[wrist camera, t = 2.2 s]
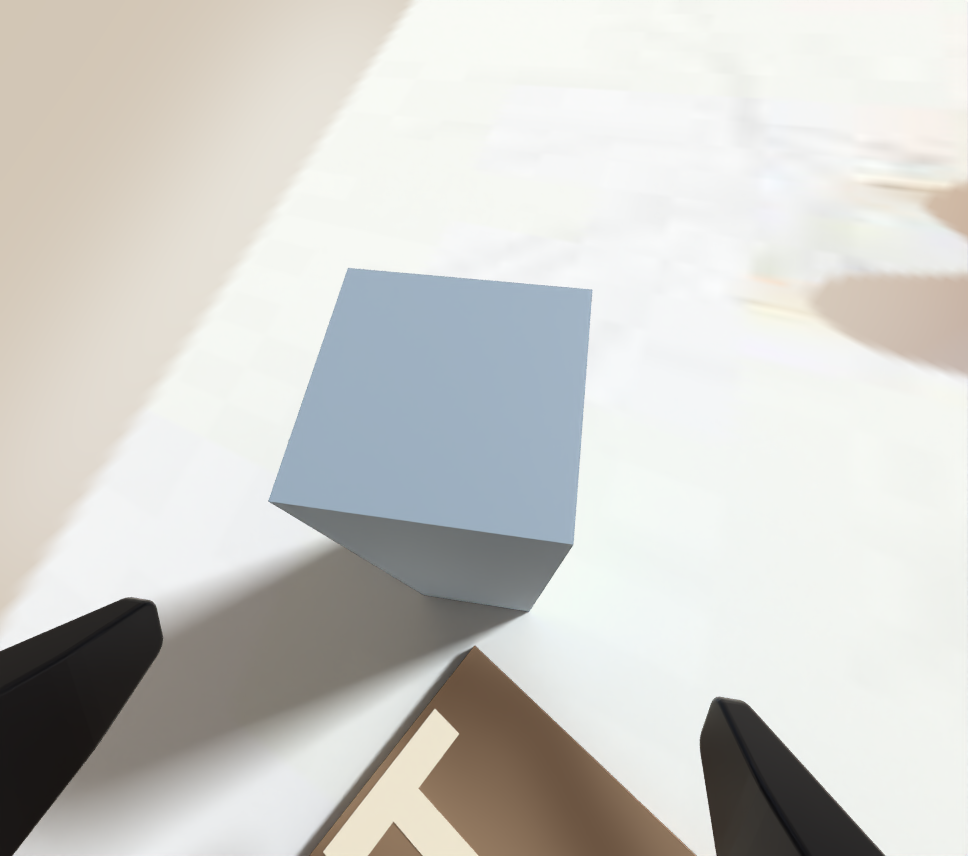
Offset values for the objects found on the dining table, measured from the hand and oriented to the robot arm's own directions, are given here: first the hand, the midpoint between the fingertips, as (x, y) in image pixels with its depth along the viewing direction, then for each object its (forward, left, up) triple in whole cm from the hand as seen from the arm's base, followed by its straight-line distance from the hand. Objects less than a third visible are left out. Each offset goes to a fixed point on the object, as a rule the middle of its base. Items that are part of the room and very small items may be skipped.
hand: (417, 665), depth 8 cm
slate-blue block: (+3, +2, -11) cm, 11 cm away
